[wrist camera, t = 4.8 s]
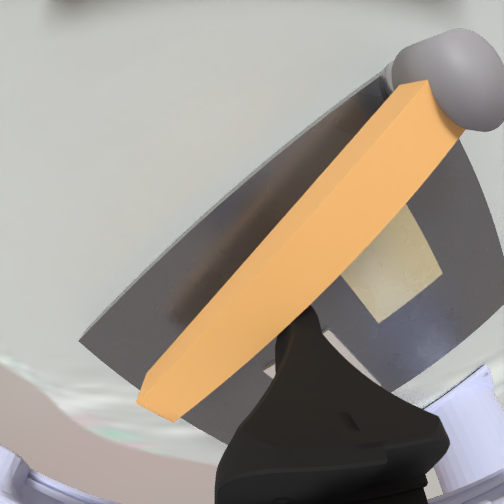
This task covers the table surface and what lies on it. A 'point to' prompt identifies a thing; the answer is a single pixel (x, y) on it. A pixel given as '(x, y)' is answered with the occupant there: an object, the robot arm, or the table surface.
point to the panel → (340, 290)
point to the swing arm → (336, 214)
